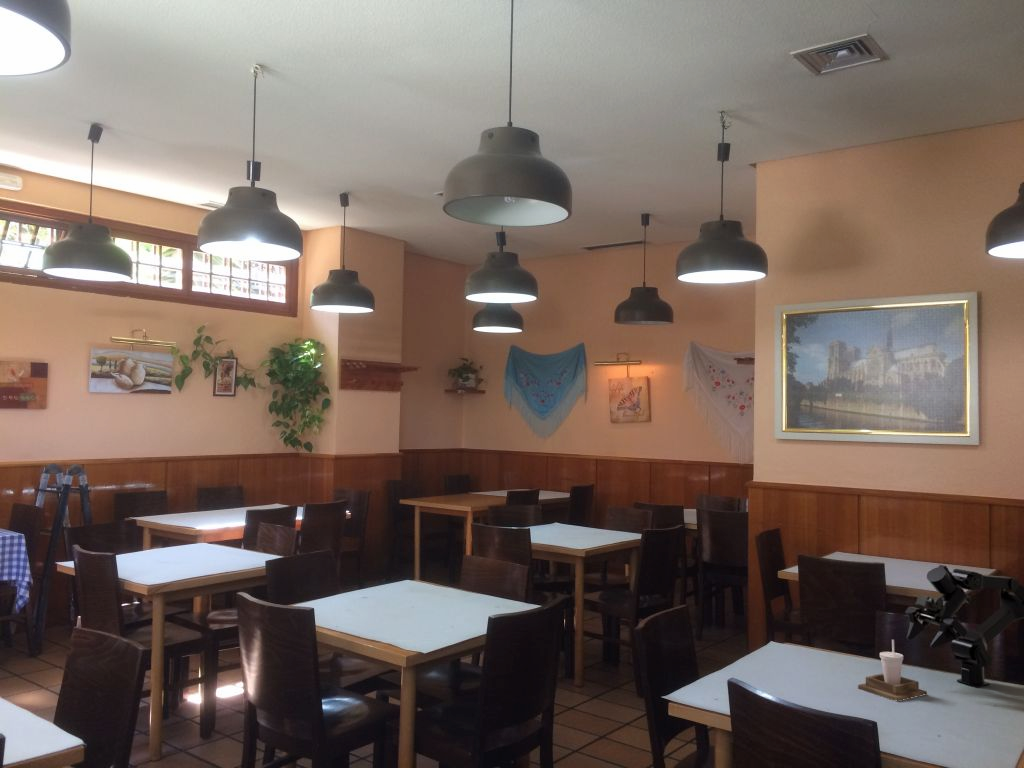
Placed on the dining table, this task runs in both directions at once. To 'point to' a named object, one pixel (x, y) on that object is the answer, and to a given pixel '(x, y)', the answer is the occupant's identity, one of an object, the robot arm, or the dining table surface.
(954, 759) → the dining table surface
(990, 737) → the dining table surface
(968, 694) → the dining table surface
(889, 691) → the bottle stand
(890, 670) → the smoothie
